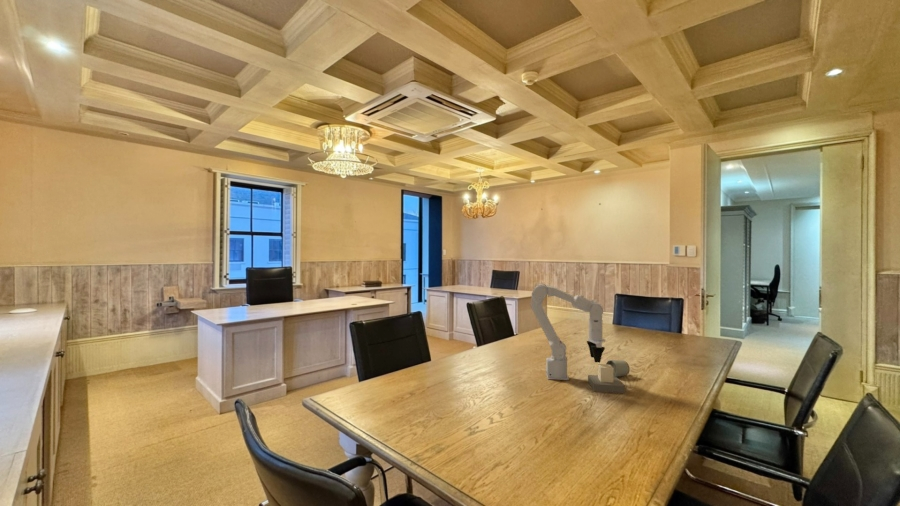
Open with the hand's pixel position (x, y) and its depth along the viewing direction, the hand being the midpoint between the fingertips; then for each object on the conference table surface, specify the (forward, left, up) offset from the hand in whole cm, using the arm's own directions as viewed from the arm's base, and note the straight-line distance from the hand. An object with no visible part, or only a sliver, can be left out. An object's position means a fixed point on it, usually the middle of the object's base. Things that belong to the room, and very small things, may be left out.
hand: (595, 359), depth 165 cm
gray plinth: (+3, -7, -10) cm, 12 cm away
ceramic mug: (+11, +10, -10) cm, 18 cm away
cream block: (+3, -7, -7) cm, 10 cm away
